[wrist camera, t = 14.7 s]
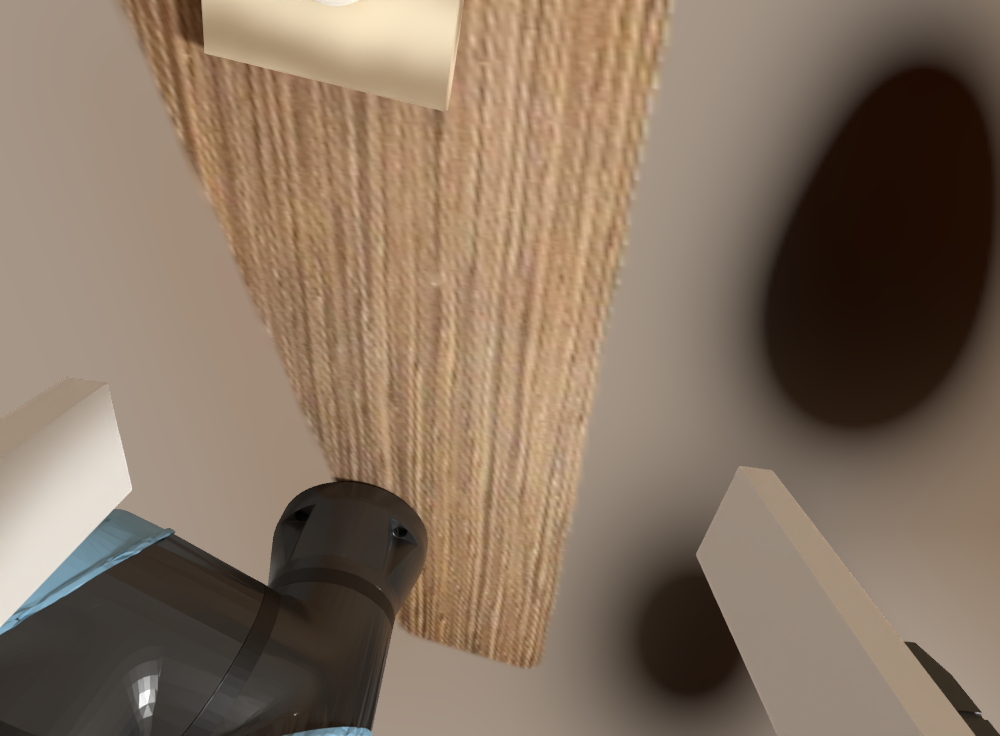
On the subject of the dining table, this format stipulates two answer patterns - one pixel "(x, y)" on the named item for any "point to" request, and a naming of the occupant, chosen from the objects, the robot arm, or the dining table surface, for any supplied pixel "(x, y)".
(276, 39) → the riser
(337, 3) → the can
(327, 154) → the dining table surface
